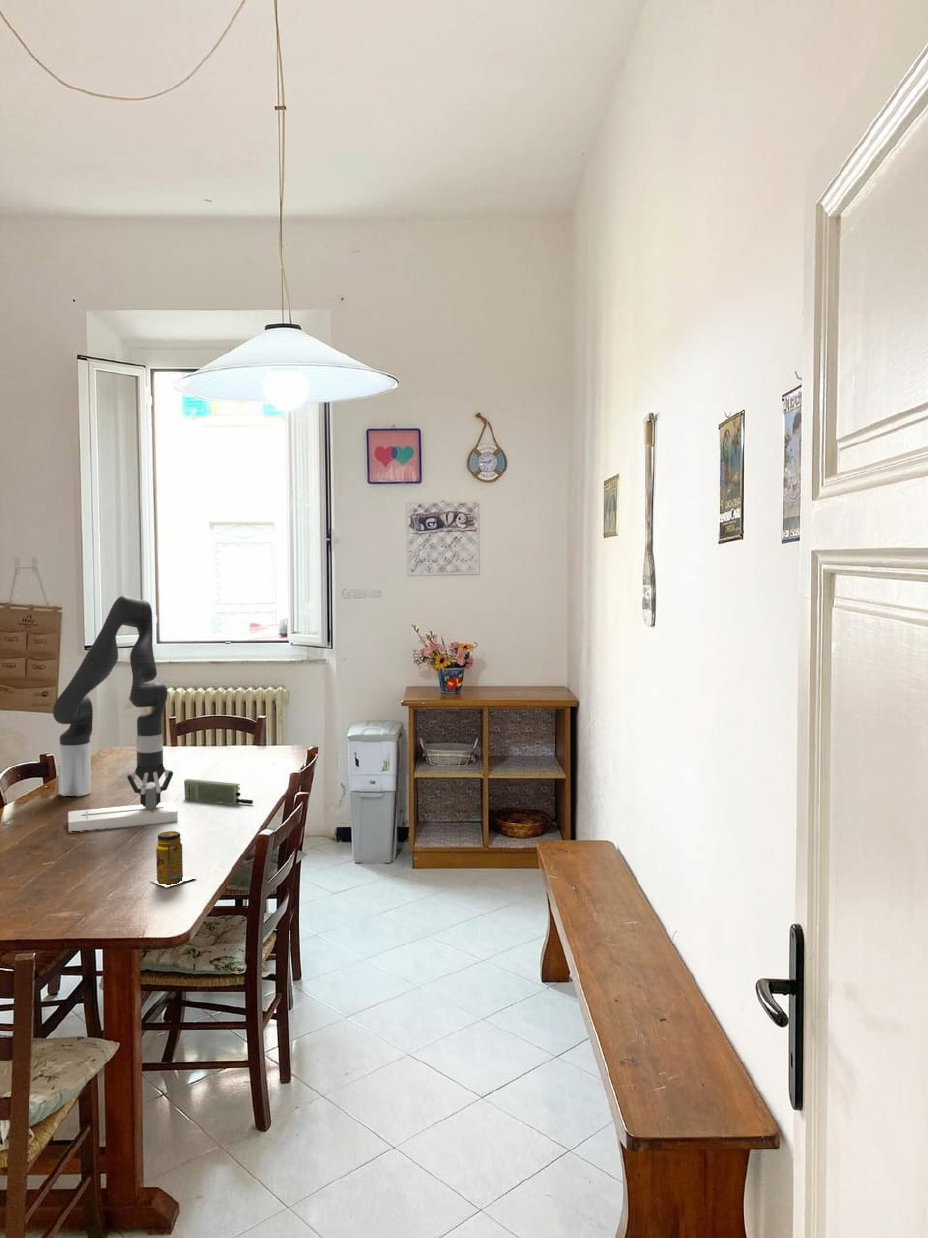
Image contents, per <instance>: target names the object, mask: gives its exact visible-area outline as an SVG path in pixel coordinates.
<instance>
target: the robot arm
mask: <svg viewBox="0 0 928 1238" xmlns="http://www.w3.org/2000/svg"><path fill="white" fill-rule="evenodd" d="M103 623H104V624H103V625H102V628H101V630H100V632H99V634H97V637H96V638H95V640H94V642H93V644H92V645H91V647H90V648H89V650H88V651H87V652H86V655H85V657H84V658H83V660H82V662H81V664H80V666H79V667H78V669H77V670H76V672H75V674H74V675H73V676H72V679H71V680H70V682H69V683H68V685H66V687H65V689H64V690H63V691H62V692H61V694H60V695H59V696H58V697H57V699H56V701H55V702H54V705H53V708H52V709H53V710H52V714H53V718H54V720H55V721H56V723H58V724H60V725H69V727H68V729H66V731H64V732H62V733H61V735H60V736H59V754H60V755H59V760H60V764H59V765H58V766H57V773H58V774H57V775H58V776H57V777H58V778H57V779H58V783H57V784H58V795H60V796H62V797H65V796H77V797H83V796H86V795H89V794H91V792H92V781H91V780H92V779H91V778H92V776H91V775H92V773H91V736H92V732H93V719H94V717H93V715H94V713H93V712H94V711H93V703H92V700H91V698H90V697H89V696H88V694H89V693H90V692H92V691H93V690H94V689H96V687H97V686H99V685H100V684H101V683H103V682H104V681H105V680H106V679H108V677H109V676H110V674H111V672H112V671H113V669H114V667H115V666H116V664H117V662H118V660H119V649H118V644H117V634H118V632H119V630H120V628H121V627H122V626H127V627H130V628H131V627H132V628H136V629H137V631H138V638H137V640H136V642H135V644H134V645H133V646H132V649H131V651H130V654H129V655H130V656H129V662H130V668H131V673H132V681H131V682H132V683H131V690H130V693H129V694H130V695H129V696H130V697H129V698H130V702H131V704H132V705H133V706H134V707H135V708H148V707H149V708H150V707H152V710H151V711H149V712H148V713H144V714H141V715H139V716H137V719H136V743H135V744H136V746H135V749H136V768H135V769H134V770H135V771H133V772H131V773H127V774H126V778H127V780H128V782H129V784H130V786H131V789H132V790H133V792H134V793H135V794H139V795H140V797H139V798H140V799H139V802H140V805H143V807H144V806H146V801H145V789H146V786H147V785H148V784H149V783H154V786H155V787H156V805H158V803H162V802H161V793H162V792H164V791H167V790H168V788H169V785H170V783H171V780H172V778H173V775H174V772H173V771H172V770H171V769H170V770H169V769H166V767H164V745H163V744H164V741H163V740H164V739H163V724H162V723H163V722H162V721H163V716H164V715H163V714H164V710H165V707H166V703H167V700H168V696H169V695H168V688H167V686H166V685H165V684H164V683H162V682H152V681H154V680H155V678H157V674H158V671H157V666H156V661H155V660H156V659H155V655H154V645H153V635H154V633H153V610H152V606H151V604H150V603H149V602H148V601H147V600H145V599H141V598H136V597H132V596H129V595H121V596H120V595H119V597H118V598H117V599H116V600H115V601H114V603H113V605H112V607H110V610H109V612H108V615H107V616H106V619H105V622H103ZM163 775H164V777H165V779H164V781H163V783H162V785H161V784H160V779H161V777H162V776H163ZM136 776H137V777H138V778H139V780H140V787H138V786H137V784H136V782H135V781H136Z"/></svg>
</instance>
